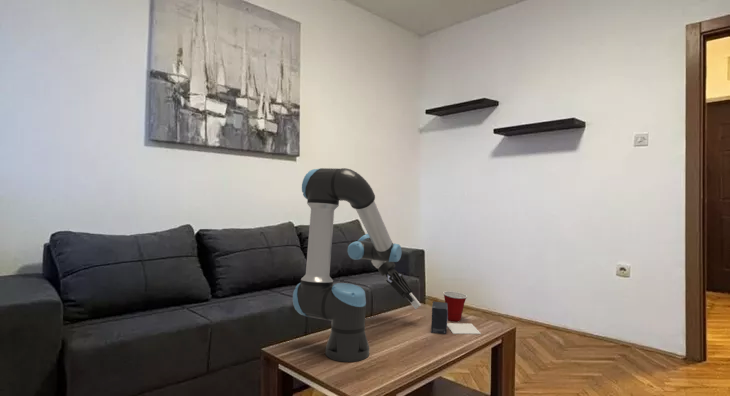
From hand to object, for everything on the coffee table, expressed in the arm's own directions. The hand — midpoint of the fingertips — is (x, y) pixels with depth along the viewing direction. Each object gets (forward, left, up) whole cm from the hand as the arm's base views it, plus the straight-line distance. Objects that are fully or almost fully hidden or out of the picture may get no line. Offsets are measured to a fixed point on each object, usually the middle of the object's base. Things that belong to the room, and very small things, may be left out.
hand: (418, 307), depth 177 cm
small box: (+8, -5, -8) cm, 13 cm away
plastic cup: (+18, +9, -8) cm, 22 cm away
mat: (+18, -3, -8) cm, 20 cm away
